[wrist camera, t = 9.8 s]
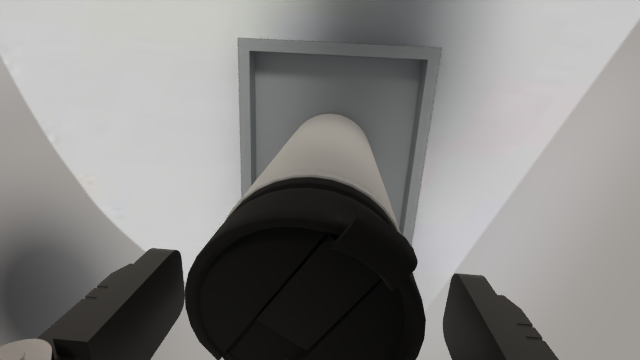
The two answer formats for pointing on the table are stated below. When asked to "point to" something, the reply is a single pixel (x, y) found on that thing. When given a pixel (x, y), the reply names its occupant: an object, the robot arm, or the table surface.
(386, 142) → the tray
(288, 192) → the travel mug
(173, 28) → the table surface
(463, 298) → the robot arm
